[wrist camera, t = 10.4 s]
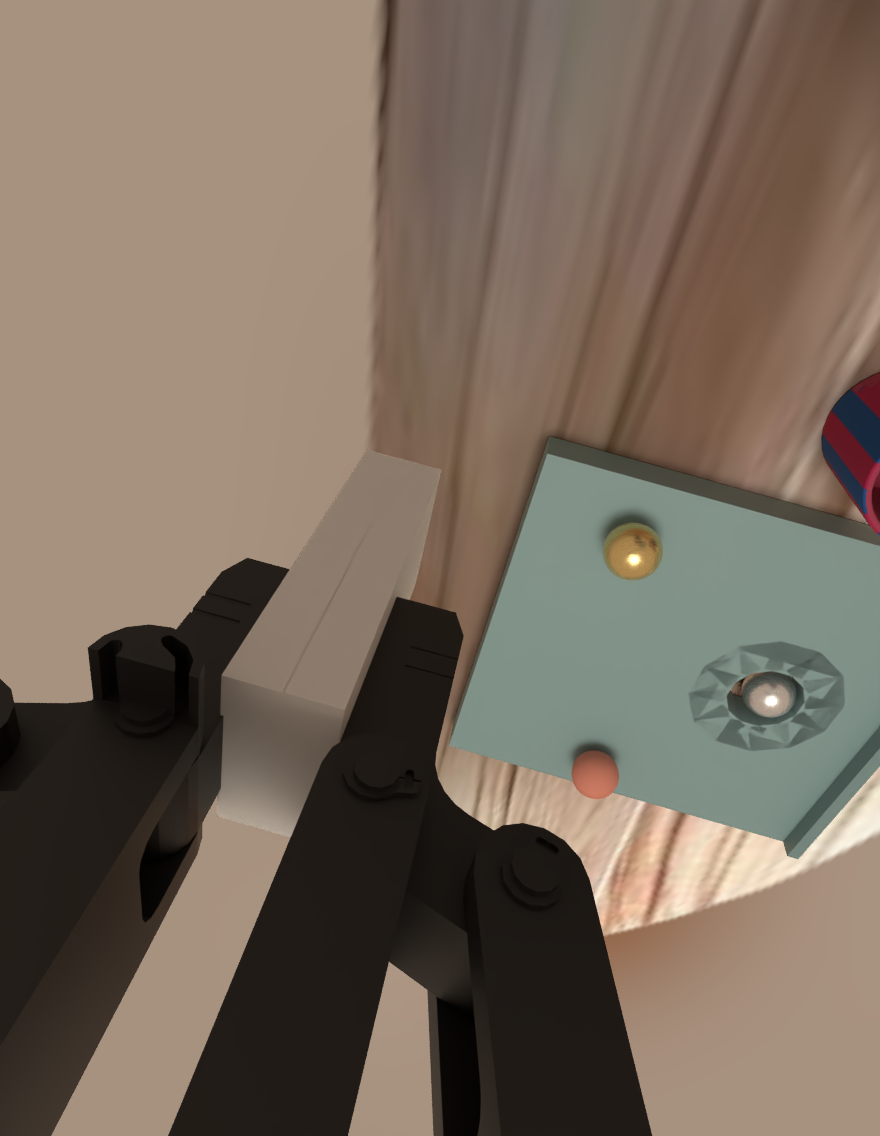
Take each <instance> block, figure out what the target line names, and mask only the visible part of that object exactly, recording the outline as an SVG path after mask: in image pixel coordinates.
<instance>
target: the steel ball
mask: <svg viewBox="0 0 880 1136" xmlns="http://www.w3.org/2000/svg"><path fill="white" fill-rule="evenodd" d="M741 693H742V698H743V700H744V703H745V704H746V706H747V707H748V708H749V709H750V710H751V711H752V712H754V713H755V714H757V715H759V716H762V717H768V718H774V717H779V716H782V715H784V714H786V713H787V712H788V711H789V710H790V709H791V708H792V707H793V705H794V703H795V700H796V689H795V685H794V683H793V681H792V680H791V679H790V677H789V676H788V675H785V674H782V673H778V672H775V671H769V672H760V673H752V674H750V675H748V676H746V678H745V679H744V681H743V684H742V688H741Z"/></svg>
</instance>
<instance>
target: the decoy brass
mask: <svg viewBox="0 0 880 1136" xmlns="http://www.w3.org/2000/svg"><path fill="white" fill-rule="evenodd" d="M662 557H663V546H662V542H661V540H660V538H659V536H658V534H657V533H656V532H655V531H654V530H653V529H652V528H650V527H649V526H647V525H644V524H641V523H636V522H630V523H625V524H622V525H619V526H618V527H616V528H614V529H613V530H612V531H611V532H610V533H609V534H608V536H607V537H606V539H605V542H604V545H603V559H604V562H605V564H606V566H607V567H608V569H609V570H610V571H611V572H612V573H613V574H614V575H616V576H617V577H619V578H621V579H624V580H630V581H635V580H641V579H644V578H646V577H648V576H650V575H651V574H653V573H654V572H655V571H656V570H657V568H658V567H659V565H660V563H661V561H662Z"/></svg>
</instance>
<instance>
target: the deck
mask: <svg viewBox="0 0 880 1136" xmlns="http://www.w3.org/2000/svg"><path fill="white" fill-rule="evenodd" d="M630 522H636V523H641V524H644V525H647V526H649V527H650V528H652V529H653V530H654V531H655V532H656V533H657V534H658V536H659V538H660V540H661V542H662V546H663V557H662V561H661V563H660V565H659V567H658V568H657V570H656V571H655V572H654V573H653V574H651V575H650V576H648V577H646V578H644V579H641V580H635V581H630V580H624V579H621V578H619V577H617V576H616V575H614V574H613V573H612V572H611V571H610V570H609V569H608V567H607V566H606V564H605V562H604V559H603V545H604V542H605V539H606V537H607V536H608V534H609V533H610V532H611V531H612V530H613V529H614V528H616V527H618V526H619V525H622V524H625V523H630ZM769 671H775V672H778V673H782V674H785V675H789V676H792V677H793V679H792V681H793V683H794V685H795V689H796V700H795V703H794V705H793V707H792V708H791V709H790V710H789V711H788V712H787V713H786V714H784V715H782V716H779V717H774V718H768V717H762V716H759V715H757V714H755V713H754V712H752V711H751V710H750V709H749V708H748V707H747V706H746V704H745V703H744V700H743V698H742V697H740V696H737V695H733V694H732V693H731V692H730V690H731V688H732V687H733V685H734V683H735V682H737V681H739V680H741V679H743V678H745V677H746V676H748V675H750V674H752V673H760V672H769ZM449 746H452V747H455V748H459V749H462V750H466V751H469V752H473V753H476V754H480V755H483V756H487V757H490V758H494V759H497V760H501V761H504V762H508V763H511V764H515V765H518V766H522V767H525V768H529V769H532V770H536V771H539V772H543V773H546V774H550V775H553V776H557V777H560V778H564V779H567V780H571V781H573V780H572V775H571V771H572V766H573V763H574V761H575V760H576V759H577V757H578V756H580V755H581V754H582V753H584V752H587V751H591V750H597V751H601V752H604V753H606V754H607V755H609V756H610V757H611V758H612V759H613V760H614V762H615V763H616V765H617V767H618V771H619V781H618V785H617V787H616V789H615V790H614V791H613V792H612V793H616V794H619V795H623V796H626V797H630V798H633V799H637V800H640V801H644V802H647V803H651V804H654V805H658V806H661V807H665V808H668V809H672V810H675V811H679V812H682V813H686V814H689V815H693V816H696V817H700V818H703V819H707V820H710V821H714V822H717V823H721V824H724V825H728V826H731V827H735V828H738V829H741V830H745V831H748V832H752V833H755V834H759V835H762V836H766V837H769V838H773V839H776V840H780V841H783V842H784V846H785V850H786V853H787V856H789V857H793V858H796V859H799V857H800V856H801V855H802V854H803V853H804V852H805V851H806V850H807V848H808V847H809V846H810V845H811V844H812V843H813V842H814V840H815V839H816V838H817V837H818V836H819V835H820V834H821V832H822V831H823V830H824V829H825V828H826V827H827V826H828V825H829V823H830V822H831V821H832V820H833V819H834V818H835V817H836V815H837V814H838V813H839V812H840V811H841V810H842V809H843V807H844V806H845V805H846V804H847V803H848V802H849V801H850V800H851V798H852V797H853V796H854V795H855V794H856V793H857V792H858V790H859V789H860V788H861V787H862V786H863V785H864V784H865V782H866V781H867V780H868V779H869V778H870V777H871V776H872V775H873V773H874V772H875V771H876V770H877V769H878V768H879V767H880V536H879V535H878V534H876V533H875V531H874V530H873V529H872V528H871V526H870V525H868V524H864V523H860V522H857V521H853V520H850V519H846V518H842V517H839V516H835V515H832V514H828V513H824V512H821V511H817V510H814V509H810V508H806V507H803V506H799V505H796V504H792V503H788V502H785V501H781V500H778V499H774V498H770V497H767V496H763V495H760V494H756V493H752V492H749V491H745V490H742V489H738V488H734V487H731V486H727V485H724V484H720V483H716V482H713V481H709V480H706V479H702V478H698V477H695V476H691V475H688V474H684V473H680V472H677V471H673V470H670V469H666V468H662V467H659V466H655V465H652V464H648V463H644V462H641V461H637V460H634V459H630V458H626V457H623V456H619V455H616V454H612V453H608V452H605V451H601V450H598V449H594V448H590V447H587V446H583V445H580V444H576V443H572V442H569V441H565V440H562V439H558V438H554V437H551V436H549V438H548V441H547V444H546V447H545V450H544V453H543V456H542V459H541V462H540V465H539V468H538V471H537V474H536V477H535V480H534V483H533V486H532V489H531V492H530V495H529V498H528V501H527V504H526V507H525V510H524V513H523V516H522V519H521V522H520V525H519V528H518V531H517V534H516V537H515V540H514V543H513V546H512V549H511V552H510V555H509V558H508V561H507V564H506V567H505V570H504V573H503V576H502V579H501V582H500V585H499V588H498V591H497V594H496V597H495V600H494V603H493V606H492V609H491V612H490V615H489V618H488V621H487V624H486V627H485V630H484V633H483V636H482V639H481V642H480V645H479V648H478V651H477V654H476V657H475V660H474V663H473V666H472V669H471V672H470V675H469V678H468V681H467V684H466V687H465V690H464V693H463V696H462V699H461V702H460V705H459V708H458V711H457V714H456V717H455V720H454V724H453V728H452V733H451V738H450V743H449Z"/></svg>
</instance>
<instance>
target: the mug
mask: <svg viewBox="0 0 880 1136" xmlns="http://www.w3.org/2000/svg"><path fill="white" fill-rule="evenodd" d="M822 451H823V455H824V458H825V460H826V462H827V464H828V466H829V468H830V469H831V471H832V472H833V473H834V475H835V476H836V478H837V479H838V481H839V482H840V484H841V485H842V486H843V488H844V489H845V491H846V492H847V494H848V495H849V497H850V498H851V499H852V501H853V502H854V504H855V505H856V507H857V508H858V509H859V511H860V512H861V514H862V515H863V517H864V518H865V520H866V521H867V522H868V524H869V525H870V526H871V528H872V529H873V530H874V531H875V533H876V534H878V535H879V536H880V373H878V374H875V375H873V376H871V377H869V378H867V379H865V380H863V381H862V382H860V383H859V384H857V385H856V386H855V387H853V388H852V389H851V390H850V391H848V392H847V393H846V394H845V395H844V396H843V397H842V398H841V399H840V400H839V402H838V403H837V404H836V405H835V406H834V408H833V410H832V411H831V413H830V414H829V416H828V418H827V421H826V423H825V426H824V429H823V434H822Z"/></svg>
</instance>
